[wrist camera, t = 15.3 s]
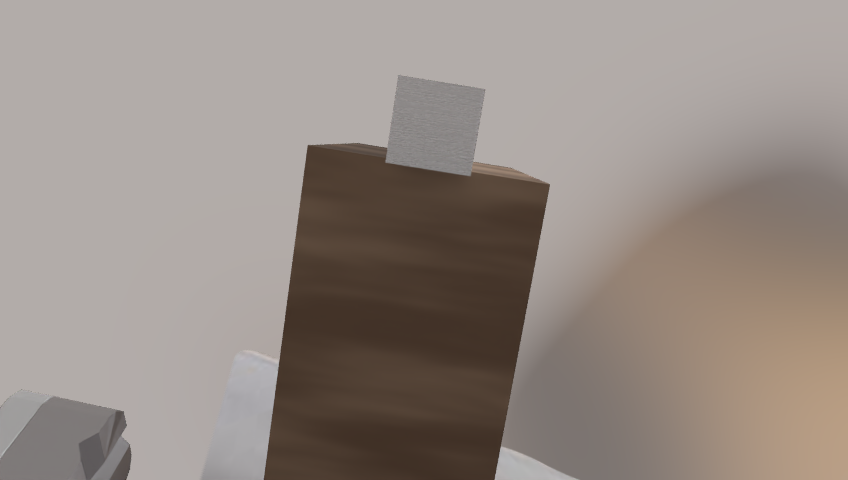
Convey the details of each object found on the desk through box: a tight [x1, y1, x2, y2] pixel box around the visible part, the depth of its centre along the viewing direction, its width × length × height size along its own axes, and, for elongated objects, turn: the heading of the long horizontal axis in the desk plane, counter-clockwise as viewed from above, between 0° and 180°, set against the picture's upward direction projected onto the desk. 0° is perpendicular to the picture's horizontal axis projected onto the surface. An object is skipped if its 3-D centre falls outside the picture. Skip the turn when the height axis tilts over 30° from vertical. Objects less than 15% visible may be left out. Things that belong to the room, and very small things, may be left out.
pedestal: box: [264, 143, 550, 480], centre depth 37 cm, size 16×10×26 cm, turn 179°
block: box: [385, 75, 485, 176], centre depth 34 cm, size 22×3×3 cm, turn 179°
